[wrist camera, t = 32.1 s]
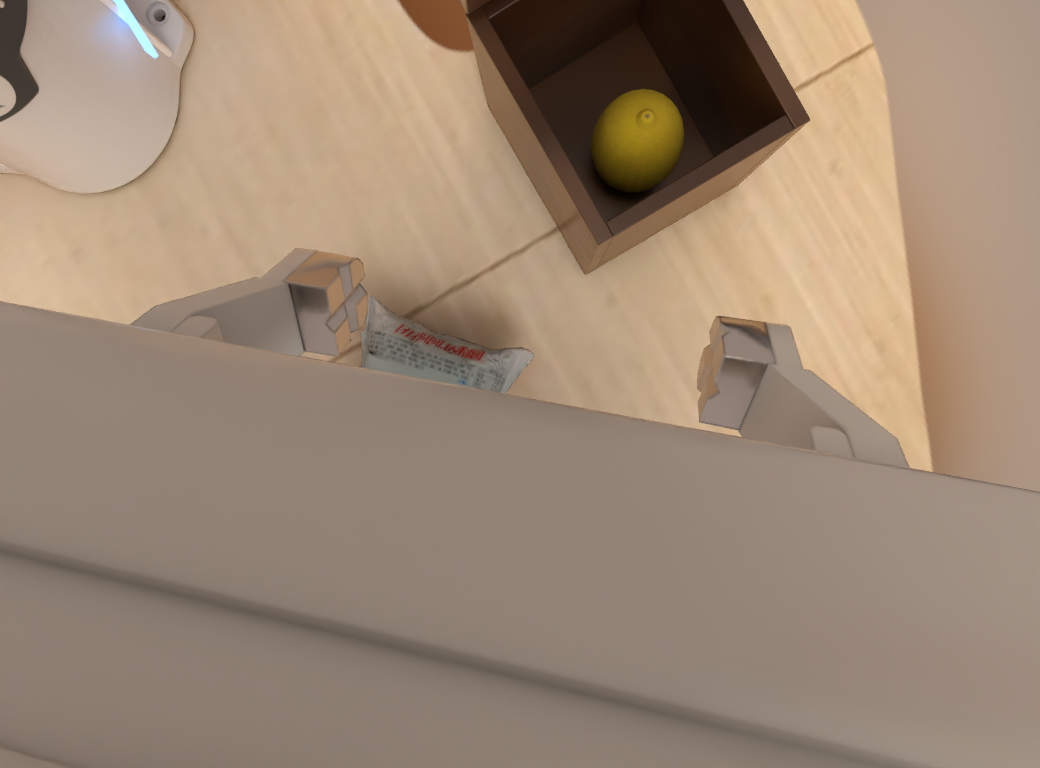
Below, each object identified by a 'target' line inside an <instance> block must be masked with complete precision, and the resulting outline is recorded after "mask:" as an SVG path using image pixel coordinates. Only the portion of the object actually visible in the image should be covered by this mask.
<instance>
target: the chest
mask: <svg viewBox="0 0 1040 768" xmlns="http://www.w3.org/2000/svg"><path fill="white" fill-rule="evenodd" d="M466 18H467V22H468V26H469V30H470V34H471V39H472V42H473V47H474V51H475V55H476V59H477V63H478V67H479V71H480V75H481V79H482V83H483V87H484V91H485V95H486V99H487V104H488V107H489V109H490V111H491V112H492V114H493V116H494V117H495V119H496V121H497V123H498V124H499V126H500V128H501V130H502V131H503V133H504V135H505V137H506V138H507V140H508V142H509V144H510V145H511V147H512V149H513V150H514V152H515V154H516V156H517V157H518V159H519V161H520V163H521V164H522V166H523V168H524V170H525V171H526V173H527V175H528V177H529V178H530V180H531V182H532V183H533V185H534V187H535V189H536V190H537V192H538V194H539V196H540V197H541V199H542V201H543V203H544V204H545V206H546V208H547V210H548V211H549V213H550V215H551V216H552V218H553V220H554V222H555V223H556V225H557V227H558V229H559V230H560V232H561V234H562V236H563V237H564V239H565V241H566V242H567V244H568V246H569V248H570V249H571V251H572V253H573V255H574V256H575V258H576V260H577V262H578V263H579V265H580V267H581V269H582V270H583V272H584V274H585V275H586V274H588V273H590V272H591V271H593V270H595V269H597V268H598V267H600V266H602V265H603V264H605V263H607V262H608V261H610V260H612V259H613V258H615V257H617V256H619V255H620V254H622V253H624V252H625V251H627V250H629V249H630V248H632V247H634V246H636V245H637V244H639V243H641V242H642V241H644V240H646V239H647V238H649V237H651V236H653V235H654V234H656V233H658V232H659V231H661V230H663V229H664V228H666V227H668V226H669V225H671V224H673V223H675V222H676V221H678V220H680V219H681V218H683V217H685V216H686V215H688V214H690V213H692V212H693V211H695V210H697V209H698V208H700V207H702V206H703V205H705V204H707V203H709V202H710V201H712V200H714V199H715V198H717V197H719V196H720V195H722V194H724V193H725V192H727V191H729V190H731V189H732V188H734V187H736V186H737V185H739V184H740V183H741V182H742V181H743V180H744V179H745V178H746V177H748V176H749V175H750V174H751V173H752V172H753V171H754V170H755V169H756V168H758V167H759V166H760V165H761V164H762V163H763V162H764V161H765V160H766V159H768V158H769V157H770V156H771V155H772V154H773V153H774V152H775V151H776V150H778V149H779V148H780V147H781V146H782V145H783V144H784V143H785V142H786V141H788V140H789V139H790V138H791V137H792V136H793V135H794V134H795V133H796V132H798V131H799V130H800V129H801V128H802V127H803V126H804V125H805V124H806V123H808V122H809V121H810V118H809V116H808V114H807V113H806V111H805V109H804V107H803V106H802V104H801V102H800V100H799V99H798V97H797V95H796V93H795V91H794V90H793V88H792V86H791V84H790V83H789V81H788V79H787V77H786V76H785V74H784V72H783V70H782V68H781V67H780V65H779V63H778V61H777V60H776V58H775V56H774V54H773V52H772V51H771V49H770V47H769V45H768V44H767V42H766V40H765V38H764V37H763V35H762V33H761V31H760V29H759V28H758V26H757V24H756V22H755V21H754V19H753V17H752V15H751V13H750V12H749V10H748V8H747V6H746V5H745V3H744V1H743V0H490V1H488V2H487V3H485V4H483V5H482V6H480V7H479V8H477V9H476V10H474V11H472V12H471V13H469V14H467V13H466ZM639 89H648V90H654V91H657V92H659V93H662V94H664V95H665V96H666V97H668V98H669V99H670V100H671V101H672V102H673V103H674V105H675V106H676V107H677V108H678V111H679V113H680V115H681V117H682V122H683V128H684V141H683V148H682V151H681V154H680V157H679V160H678V162H677V164H676V165H675V167H674V169H673V170H672V172H671V173H670V174H669V175H668V176H667V177H666V178H665V179H664V180H663V181H662V182H661V183H660V184H658V185H656V186H654V187H652V188H651V189H649V190H645V191H642V192H634V193H627V192H623V191H619V190H616V189H615V188H613V187H611V186H609V185H608V184H607V183H606V182H605V181H604V180H603V179H602V178H601V177H600V175H599V174H598V172H597V170H596V169H595V166H594V162H593V159H592V152H591V141H592V136H593V131H594V128H595V126H596V123H597V121H598V119H599V117H600V115H601V114H602V113H603V111H604V110H605V109H606V108H607V106H608V105H609V104H610V103H611V102H612V101H614V100H615V99H616V98H618V97H619V96H621V95H622V94H625V93H627V92H630V91H632V90H639Z"/></svg>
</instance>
